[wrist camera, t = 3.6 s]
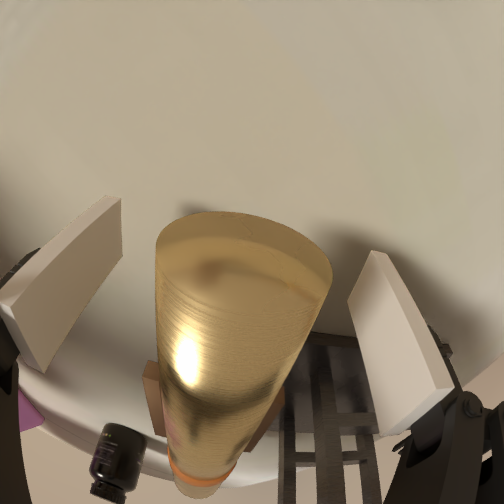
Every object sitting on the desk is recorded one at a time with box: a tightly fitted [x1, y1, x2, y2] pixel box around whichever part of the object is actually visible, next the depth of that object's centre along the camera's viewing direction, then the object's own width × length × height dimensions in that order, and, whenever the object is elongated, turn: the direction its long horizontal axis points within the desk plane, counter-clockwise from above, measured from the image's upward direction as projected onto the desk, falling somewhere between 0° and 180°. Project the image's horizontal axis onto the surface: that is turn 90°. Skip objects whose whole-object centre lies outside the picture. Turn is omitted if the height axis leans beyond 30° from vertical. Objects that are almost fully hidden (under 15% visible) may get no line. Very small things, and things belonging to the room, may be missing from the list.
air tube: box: [155, 212, 333, 499], centre depth 12 cm, size 24×4×4 cm, turn 169°
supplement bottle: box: [89, 423, 147, 504], centre depth 26 cm, size 7×7×12 cm
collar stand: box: [267, 332, 453, 504], centre depth 15 cm, size 14×14×13 cm
